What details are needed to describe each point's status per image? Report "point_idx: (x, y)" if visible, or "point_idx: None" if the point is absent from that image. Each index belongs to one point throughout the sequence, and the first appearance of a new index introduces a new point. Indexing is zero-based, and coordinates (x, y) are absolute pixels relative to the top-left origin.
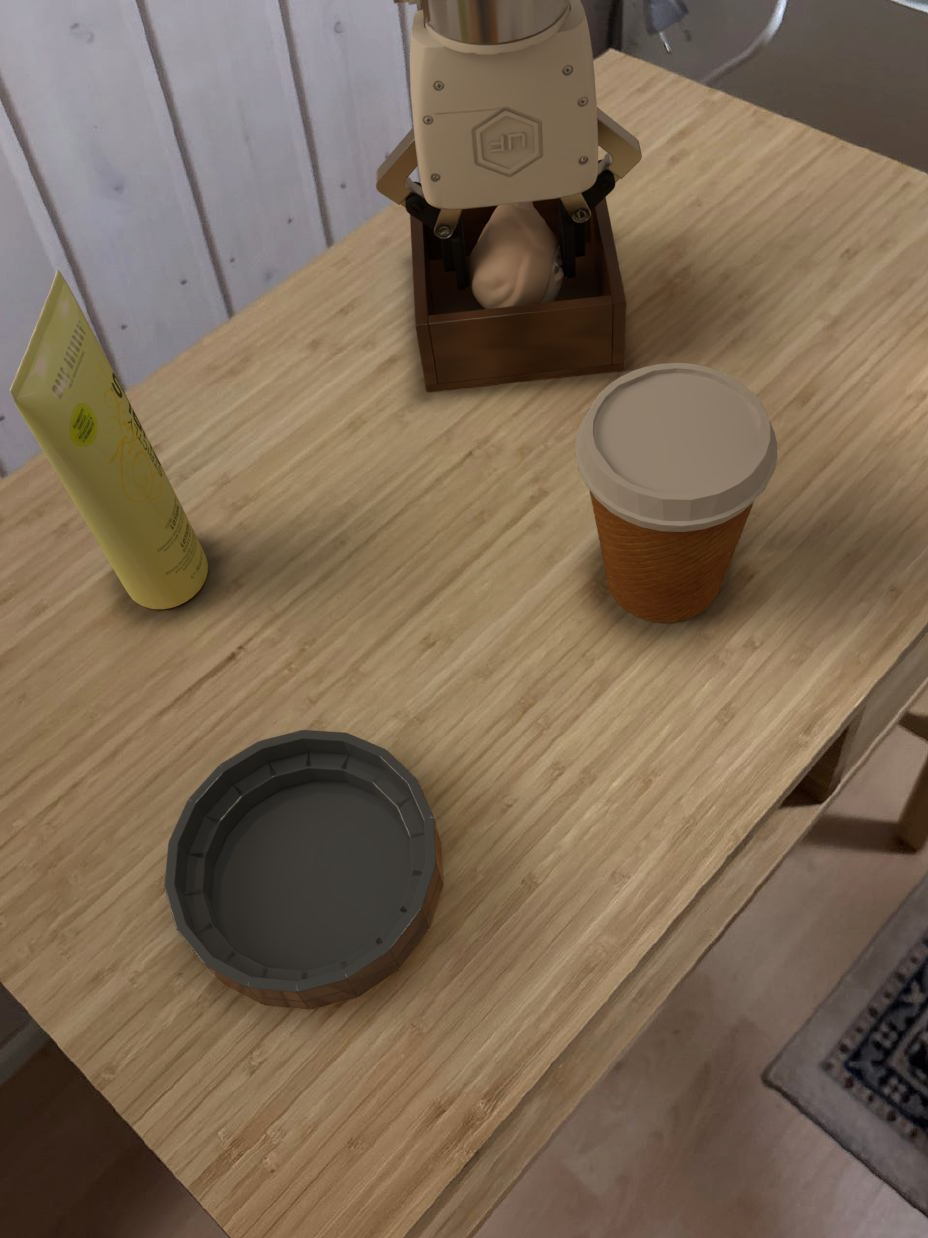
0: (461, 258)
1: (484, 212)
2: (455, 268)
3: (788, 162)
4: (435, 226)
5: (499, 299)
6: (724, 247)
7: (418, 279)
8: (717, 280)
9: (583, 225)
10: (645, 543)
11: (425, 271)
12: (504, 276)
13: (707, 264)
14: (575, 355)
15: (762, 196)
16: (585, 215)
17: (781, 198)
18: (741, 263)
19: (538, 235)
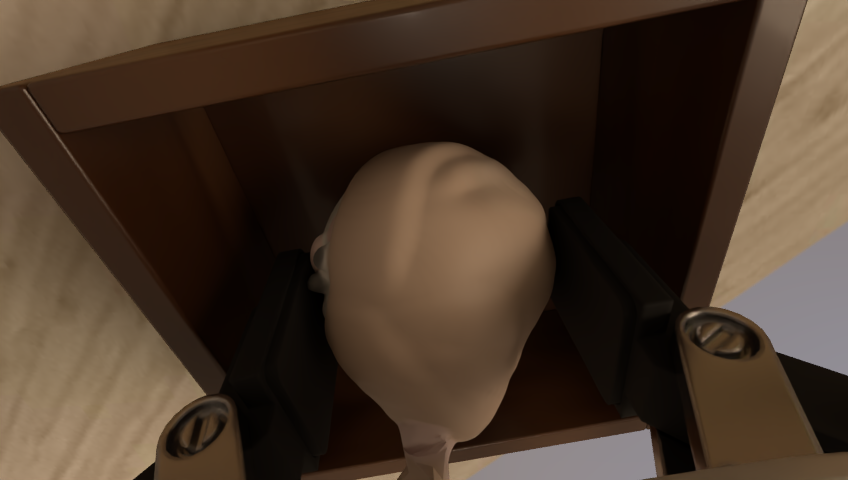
0: (608, 256)
1: (506, 392)
2: (611, 233)
3: (87, 476)
4: (773, 349)
5: (470, 162)
6: (101, 356)
7: (734, 183)
8: (76, 296)
9: (226, 386)
10: None
11: (699, 219)
12: (463, 212)
13: (112, 325)
14: (248, 27)
15: (93, 434)
16: (184, 426)
17: (62, 433)
18: (54, 330)
19: (368, 345)
